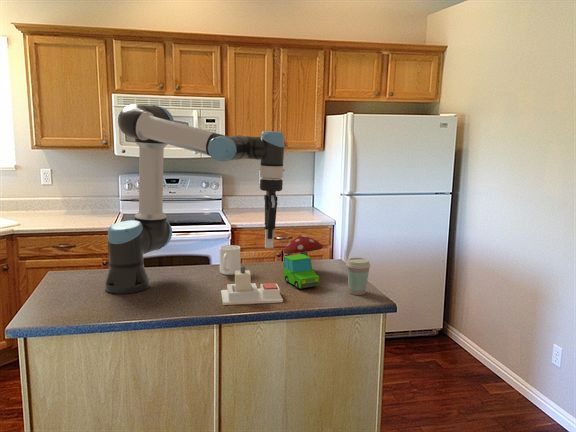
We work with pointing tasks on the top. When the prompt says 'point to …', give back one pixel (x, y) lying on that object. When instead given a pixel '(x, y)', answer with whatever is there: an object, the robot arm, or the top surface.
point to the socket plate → (250, 295)
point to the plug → (242, 280)
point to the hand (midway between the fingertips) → (269, 247)
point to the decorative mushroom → (302, 245)
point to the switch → (269, 286)
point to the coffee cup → (357, 275)
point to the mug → (229, 259)
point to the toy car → (300, 271)
